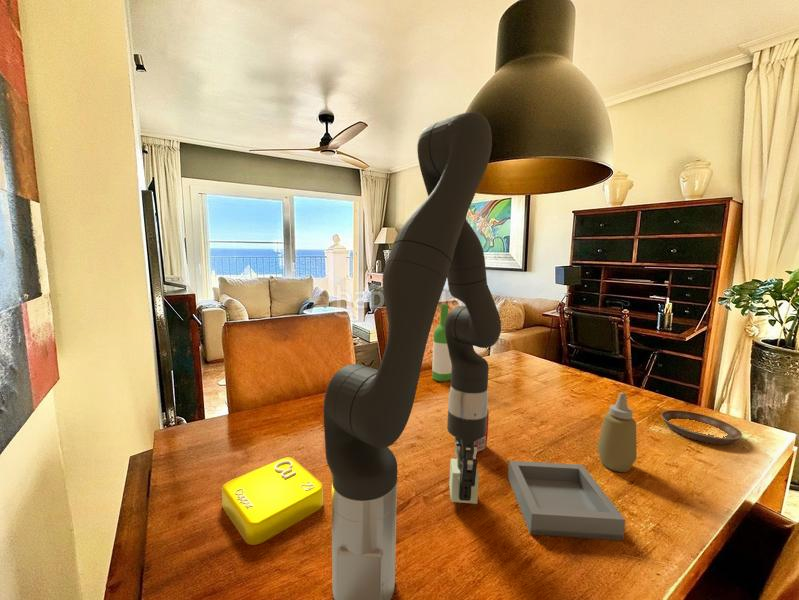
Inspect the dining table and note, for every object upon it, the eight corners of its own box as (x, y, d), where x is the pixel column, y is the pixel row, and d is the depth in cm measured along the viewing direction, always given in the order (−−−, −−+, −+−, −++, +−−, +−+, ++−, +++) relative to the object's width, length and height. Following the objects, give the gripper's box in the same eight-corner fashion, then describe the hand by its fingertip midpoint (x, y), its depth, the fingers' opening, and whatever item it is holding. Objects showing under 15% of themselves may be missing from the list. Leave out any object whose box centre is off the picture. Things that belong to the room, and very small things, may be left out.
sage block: (477, 503, 67) (479, 474, 66) (451, 501, 67) (452, 472, 67) (473, 486, 72) (475, 459, 71) (449, 485, 72) (450, 458, 72)
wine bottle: (441, 374, 144) (444, 302, 140) (455, 379, 138) (458, 305, 134) (427, 378, 139) (430, 304, 135) (442, 383, 133) (445, 306, 129)
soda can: (467, 436, 95) (469, 394, 93) (491, 446, 90) (494, 402, 89) (453, 447, 89) (455, 402, 88) (479, 457, 85) (481, 411, 83)
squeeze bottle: (587, 459, 85) (594, 389, 83) (611, 453, 88) (618, 385, 86) (618, 479, 78) (627, 402, 76) (643, 472, 81) (652, 398, 78)
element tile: (219, 504, 68) (218, 482, 67) (290, 472, 79) (289, 452, 78) (250, 551, 57) (249, 525, 57) (327, 506, 68) (327, 484, 67)
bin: (622, 540, 61) (625, 519, 60) (530, 534, 62) (531, 513, 61) (581, 481, 77) (582, 464, 76) (507, 477, 78) (508, 460, 77)
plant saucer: (672, 413, 113) (673, 404, 112) (747, 437, 98) (749, 427, 98) (650, 428, 103) (651, 418, 102) (731, 457, 88) (732, 445, 88)
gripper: (494, 427, 60) (488, 517, 62) (480, 395, 75) (476, 469, 77) (451, 425, 61) (446, 514, 63) (445, 393, 75) (442, 467, 77)
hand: (462, 489), depth 70 cm, fingers closed on sage block, 5 cm apart
